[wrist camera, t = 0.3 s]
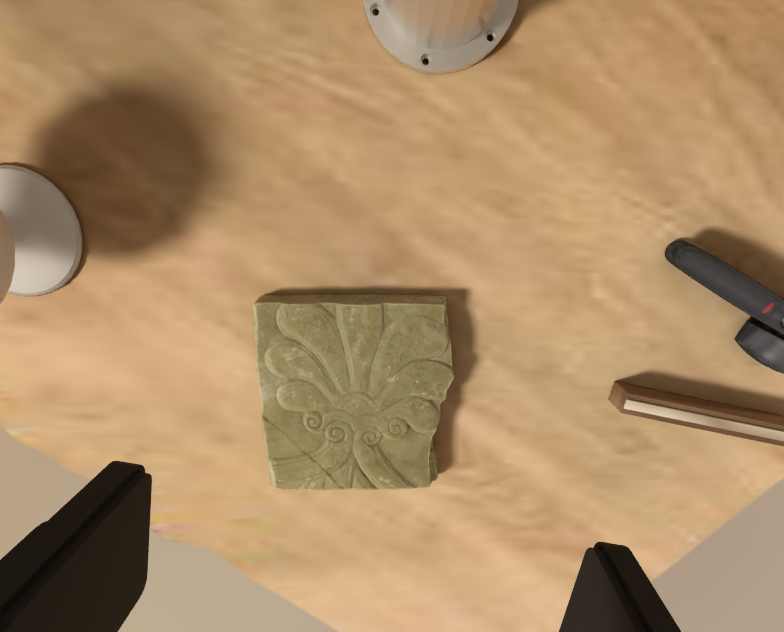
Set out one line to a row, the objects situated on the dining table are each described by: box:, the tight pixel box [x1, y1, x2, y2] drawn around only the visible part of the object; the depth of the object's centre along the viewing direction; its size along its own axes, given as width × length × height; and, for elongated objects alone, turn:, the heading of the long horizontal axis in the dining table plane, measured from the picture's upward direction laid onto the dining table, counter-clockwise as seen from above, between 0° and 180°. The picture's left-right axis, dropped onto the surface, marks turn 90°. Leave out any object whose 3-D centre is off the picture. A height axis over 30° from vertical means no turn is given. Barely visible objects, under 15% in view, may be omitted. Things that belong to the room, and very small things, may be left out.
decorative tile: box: [253, 294, 455, 490], centre depth 47 cm, size 19×20×4 cm
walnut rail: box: [608, 381, 784, 446], centre depth 46 cm, size 2×19×3 cm, turn 79°
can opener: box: [665, 241, 784, 373], centre depth 42 cm, size 18×7×6 cm, turn 55°
